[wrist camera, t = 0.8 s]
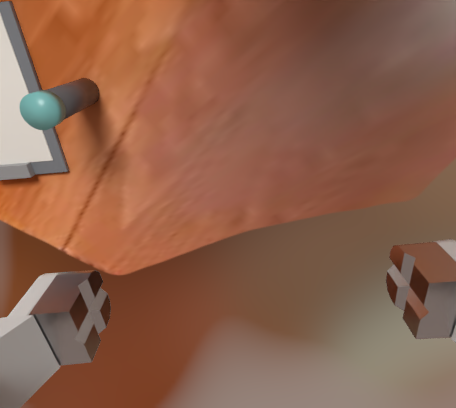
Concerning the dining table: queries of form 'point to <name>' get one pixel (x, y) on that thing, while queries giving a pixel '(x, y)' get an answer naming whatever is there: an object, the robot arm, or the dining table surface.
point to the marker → (57, 103)
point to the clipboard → (10, 109)
